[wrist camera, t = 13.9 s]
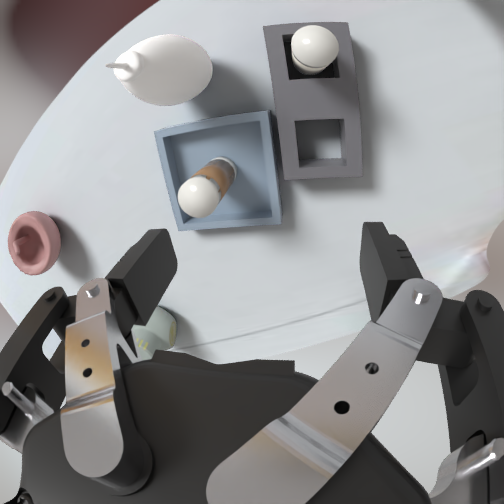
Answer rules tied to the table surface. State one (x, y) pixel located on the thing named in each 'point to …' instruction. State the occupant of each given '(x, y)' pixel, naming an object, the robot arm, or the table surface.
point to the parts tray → (240, 152)
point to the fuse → (313, 49)
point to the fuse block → (316, 104)
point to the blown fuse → (207, 187)
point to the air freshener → (156, 333)
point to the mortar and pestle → (34, 242)
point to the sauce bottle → (164, 70)
